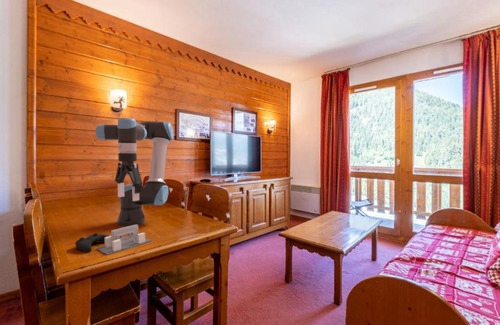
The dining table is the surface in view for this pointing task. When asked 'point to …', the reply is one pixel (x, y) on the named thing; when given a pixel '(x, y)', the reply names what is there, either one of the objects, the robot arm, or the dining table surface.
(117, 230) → the cassette
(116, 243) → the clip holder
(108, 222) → the dining table surface
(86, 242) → the gaming controller
